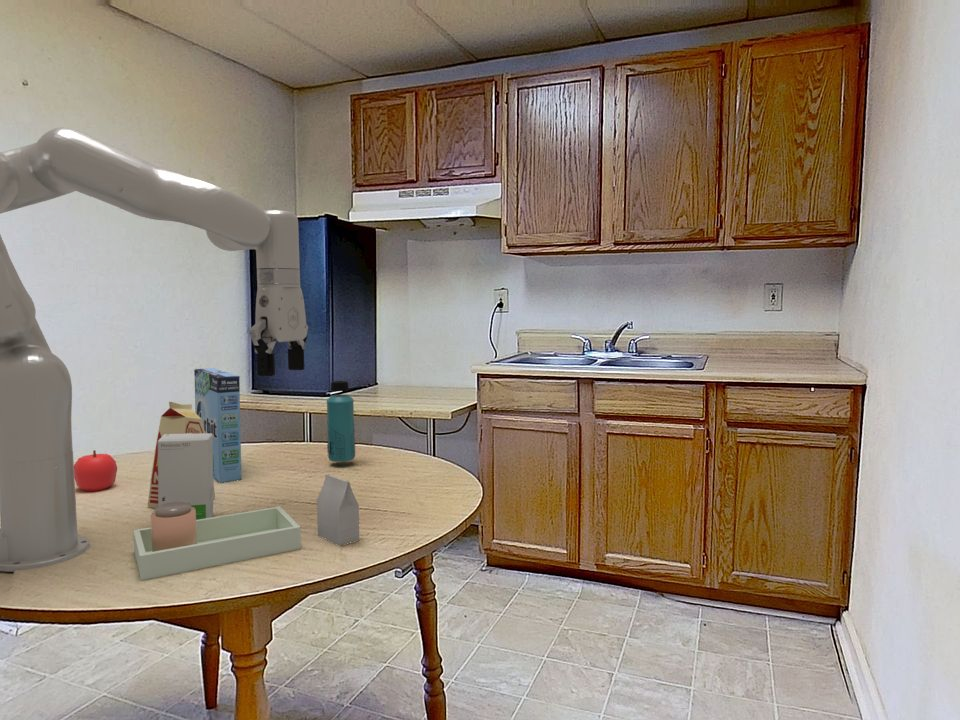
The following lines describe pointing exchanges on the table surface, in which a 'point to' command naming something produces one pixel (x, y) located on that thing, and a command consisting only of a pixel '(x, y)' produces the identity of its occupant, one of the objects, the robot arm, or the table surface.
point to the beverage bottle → (340, 424)
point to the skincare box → (186, 471)
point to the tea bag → (337, 512)
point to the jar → (173, 526)
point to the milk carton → (173, 422)
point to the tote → (220, 542)
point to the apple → (95, 471)
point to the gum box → (221, 419)
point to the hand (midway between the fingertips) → (282, 372)
